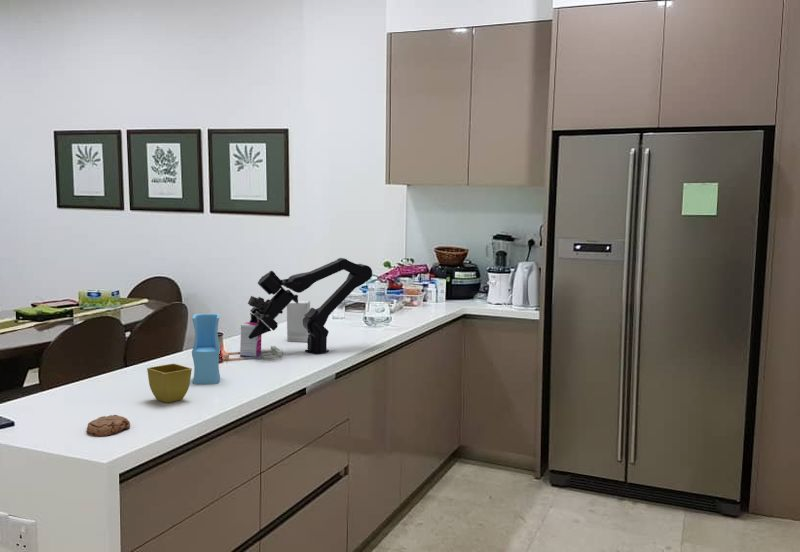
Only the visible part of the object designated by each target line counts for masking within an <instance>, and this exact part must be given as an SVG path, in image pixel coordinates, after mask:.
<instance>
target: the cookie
mask: <svg viewBox="0 0 800 552" xmlns="http://www.w3.org/2000/svg"><path fill="white" fill-rule="evenodd" d="M129 428H131V422H130V420H128V418H127V417H125V416H121V415H117V414H113V415H112V414H110V415H108V416H105V415H104V416H100V417H98V418H96V419H93V420H91V421H90V422H88V423H87V427H86V434H87V435H89V436H91V437H98V438H99V437H107V436H110V435H114V434H117V433H120V432H121V431H123V430H124V429H125V430H126V429H127V430H128V429H129Z"/></svg>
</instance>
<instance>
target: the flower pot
mask: <svg viewBox="0 0 800 552" xmlns="http://www.w3.org/2000/svg"><path fill="white" fill-rule="evenodd" d="M146 368H147V369H146V371H147V376H148V377H147V378H148V384H149V387H150V391H151V393H152V394H153V396H154V397H155V399H156V400H158V401H160V402H163V403H168V404H169V403H172V402H177V401H181V400H183V399H184V398H185V396H186V394H187V393H188V390H189V387H190V384H191V377H192V367H188V366H185V365H181V364H178V363H169V364H161V365H155V366H151V367H146Z"/></svg>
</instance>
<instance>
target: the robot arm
mask: <svg viewBox="0 0 800 552" xmlns="http://www.w3.org/2000/svg"><path fill="white" fill-rule="evenodd" d="M341 271H346V272H348V275H347V277H346V279H345V281H343V283H342V284H341V285H340V286H339V287H338V288H337V289H336V290H335V291H334V292H333V293H332V294H330V296H329V297H328V298H327V299H326V300H325V301H324V302H323V303H322V304H321V306H320V307H317V308H314V307H310V310H309V312H308V313H307V314H305V315H304V316H305V317H304V318H303V326H304V328H306V329H307V331H308V333H309V334H308V342H307V349H304V352H305V353H306V352H307V353H311V354H315V355H320V354H323V353H324V354H325V353H328V352H330V349H327V343H328V341H327V338H328V335H329V332H330V331H329V330H328V329H327V328H326V327H325V326H326V325H325V324H326V323H327V320H328V318H329V316H330V315H331V314H332V313H333V312H334V311H335V310H337V308H338V306H340V305H341V303H342V302H343V301H344V300H345V299H346V298H348V296H349V295H350V294H351V293H352V292H353V291H354V290H356V288H359V287H360V286H362V285H364V284H365V283H367V282H368V281H370V280H371V279H372V277H373V269H372V267H371V266H369V265H367V264H363V263H354V262H353V261H350V260H348V259H347V258H343V257H339V258H337V259H335V260H334V261H331V262H329V263H327V264H324V265H322V266H320V267H317V268H315V269H313V270H311V271H307V272H301V273H296V274H293V275H290V276H289V277H288V278H284V279H281V278H279V276H278V275H277V274H276V273H275V272H274V271H273V270H270V271H269V272H267V273H266V274H264V275H262V276H261V277H260V279H259V280H258V281H257V285H258V286H260V288H261V289H262V290H264V291H265V292H266V294H268V295H273V296H272V297H271V298H269V299H266V300H265V298H264V297H260V296H258V297H256V296H253V295H251V296H250V298H249V300H248V302H247V305H249V306H251V307H252V308H251V309H250V320H249V322H251V323H257V325H256V327H255V328H254V329H253V331H252V332H251V334H250V335H249V338H250V339H252V338H254V337H257V336H259V335H261V336H262V335H263V334H266V333H269V332H272V331H275V330H277V328H278V324H279V323H278V322H277V321H276V320H275V319H276V318H277V317H278V316H279V314H281V315H282V314H283V313H284V310H285V308H287V305H288V304H289V303H290V302H291V301H292V300H293V301H294V302H296V303H298V301H299V294H300V293H303V292H304V291H307V289H309V288H310V287H311V286H313V284H315V283H316V282H318V281H320V280H323V279H325V278H328V277H330V276H332V275H334V274H337V273H339V272H341ZM285 288H287V289H285ZM292 291H293V292H294V293H299V294H294V293H293V292H292Z"/></svg>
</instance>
